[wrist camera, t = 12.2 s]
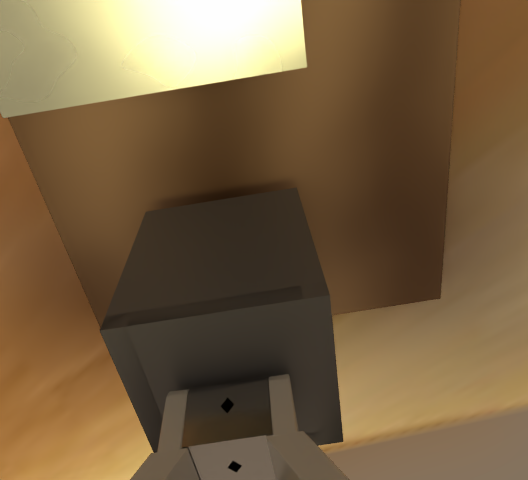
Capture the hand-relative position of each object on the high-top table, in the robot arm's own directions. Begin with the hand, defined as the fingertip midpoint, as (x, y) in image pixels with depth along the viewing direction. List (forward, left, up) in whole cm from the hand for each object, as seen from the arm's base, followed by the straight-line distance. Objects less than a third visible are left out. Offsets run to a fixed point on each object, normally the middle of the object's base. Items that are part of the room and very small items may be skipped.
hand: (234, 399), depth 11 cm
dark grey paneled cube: (0, 0, -6) cm, 6 cm away
